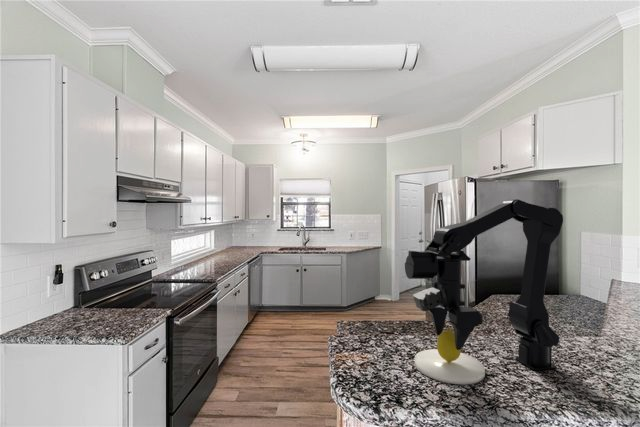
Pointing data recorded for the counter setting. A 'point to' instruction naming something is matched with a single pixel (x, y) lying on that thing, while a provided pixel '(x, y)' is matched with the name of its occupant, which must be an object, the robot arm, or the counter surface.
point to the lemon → (447, 346)
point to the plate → (449, 368)
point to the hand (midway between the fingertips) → (448, 341)
